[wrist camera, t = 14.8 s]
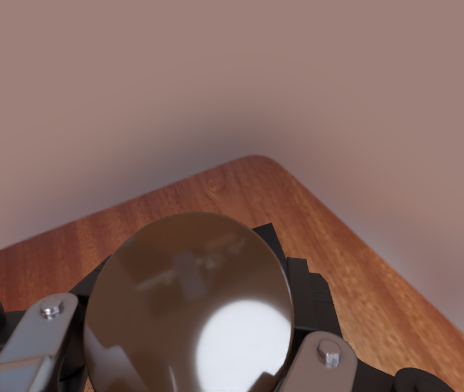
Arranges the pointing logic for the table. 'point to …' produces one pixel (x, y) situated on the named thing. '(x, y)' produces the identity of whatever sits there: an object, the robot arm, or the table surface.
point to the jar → (190, 310)
